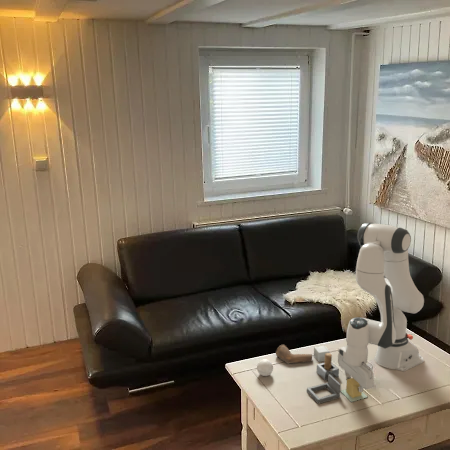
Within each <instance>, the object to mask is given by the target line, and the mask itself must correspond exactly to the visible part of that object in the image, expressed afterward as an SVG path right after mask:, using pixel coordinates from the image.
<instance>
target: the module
mask: <svg viewBox="0 0 450 450" xmlns="http://www.w3.org/2000/svg"><path fill="white" fill-rule="evenodd" d="M358 387H360V385H359V383H358V382H357V381H356V380H355V379H354V378H351V379H347V380H346V388H345V389H346V392H347V393H348V394H349V395H350V396H351V397H352V398H354V397H358V396H361V395H362V392H359V391H358Z"/></svg>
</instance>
